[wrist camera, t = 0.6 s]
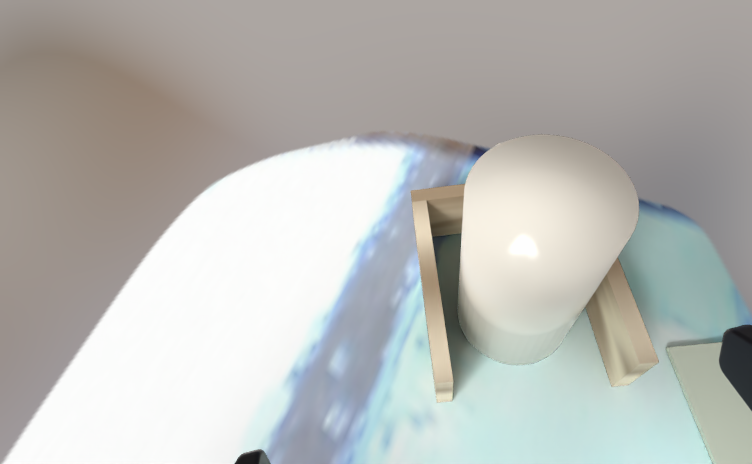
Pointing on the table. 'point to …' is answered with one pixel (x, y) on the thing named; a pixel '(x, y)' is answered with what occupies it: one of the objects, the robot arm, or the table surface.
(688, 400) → the sage mat
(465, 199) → the rounded top cylinder
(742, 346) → the robot arm
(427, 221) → the frame
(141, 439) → the table surface
